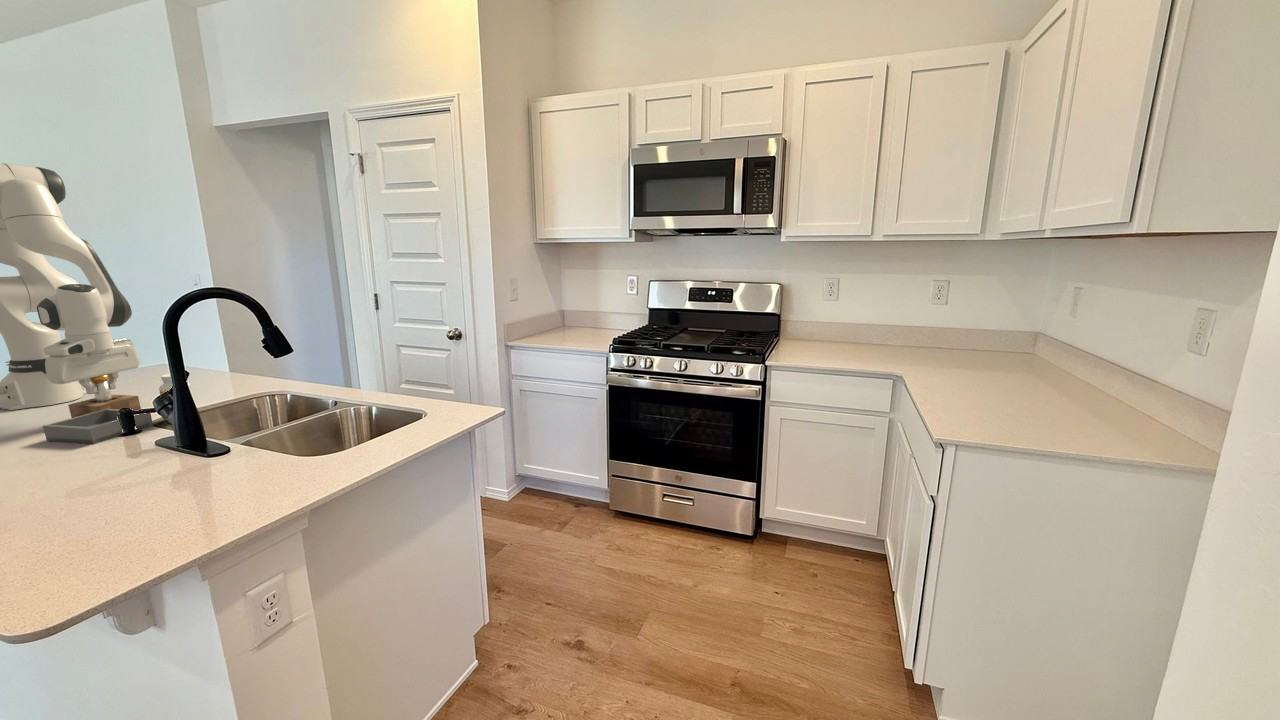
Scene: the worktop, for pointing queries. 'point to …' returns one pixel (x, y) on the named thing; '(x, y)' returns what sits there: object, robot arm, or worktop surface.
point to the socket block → (104, 405)
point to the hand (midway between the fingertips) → (101, 391)
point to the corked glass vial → (102, 388)
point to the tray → (92, 427)
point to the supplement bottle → (167, 384)
